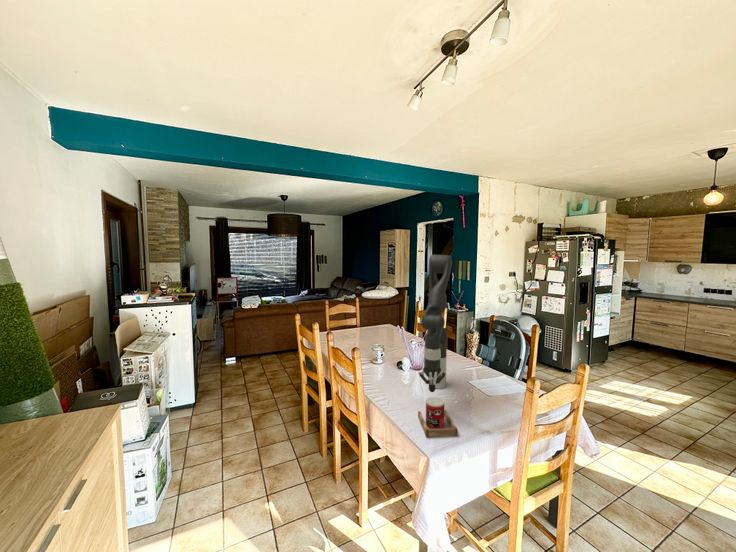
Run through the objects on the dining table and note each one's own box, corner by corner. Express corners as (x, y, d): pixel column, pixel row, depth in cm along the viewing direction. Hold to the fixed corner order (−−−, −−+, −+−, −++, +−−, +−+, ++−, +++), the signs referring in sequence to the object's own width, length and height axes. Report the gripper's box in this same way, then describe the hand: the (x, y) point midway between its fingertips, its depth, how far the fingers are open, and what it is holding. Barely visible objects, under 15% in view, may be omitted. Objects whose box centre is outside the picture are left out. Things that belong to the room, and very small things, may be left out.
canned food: (422, 425, 134) (422, 401, 133) (432, 418, 140) (432, 395, 139) (437, 432, 129) (437, 407, 128) (447, 424, 134) (447, 400, 133)
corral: (418, 417, 140) (418, 411, 140) (445, 416, 141) (445, 410, 141) (426, 437, 125) (426, 430, 125) (457, 436, 126) (457, 429, 126)
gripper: (443, 353, 148) (443, 387, 150) (416, 353, 147) (416, 388, 149) (448, 359, 140) (447, 395, 142) (420, 360, 139) (419, 395, 142)
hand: (431, 391), depth 146 cm, fingers closed
